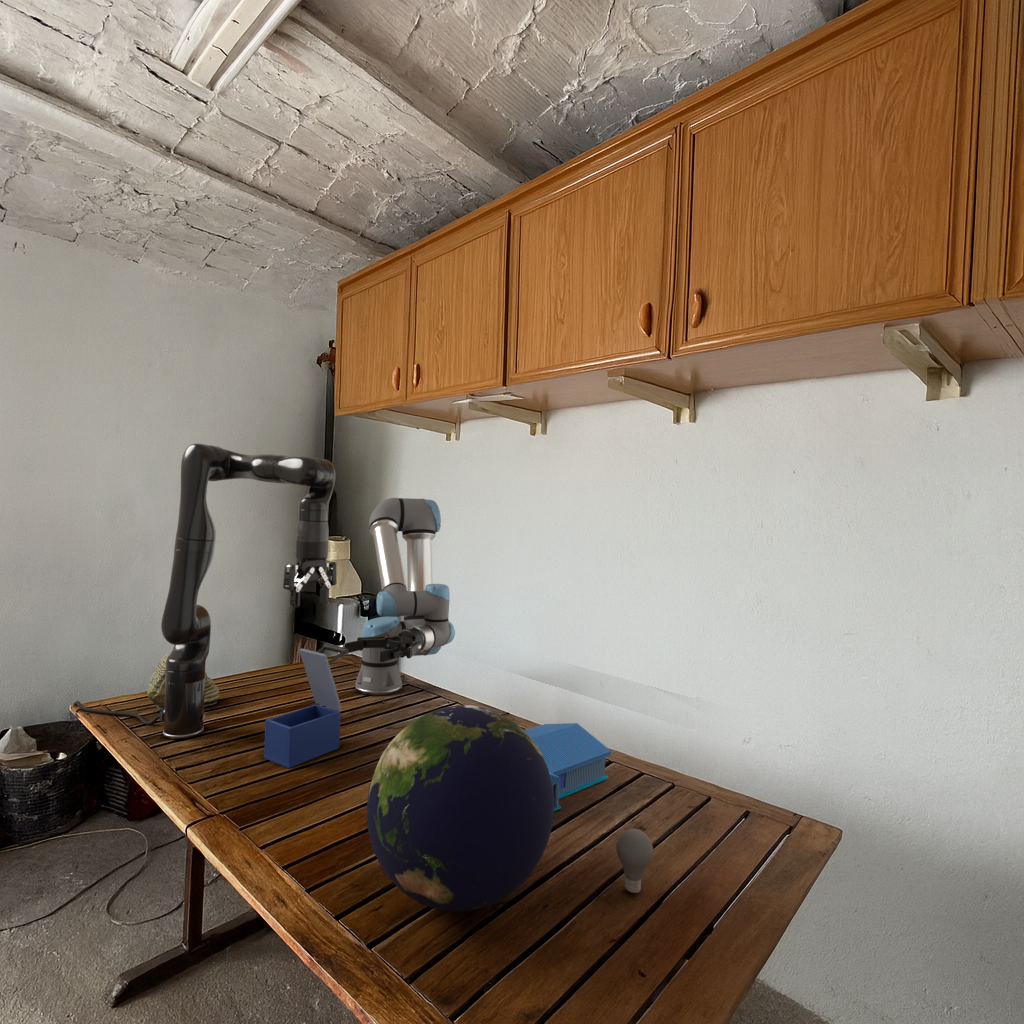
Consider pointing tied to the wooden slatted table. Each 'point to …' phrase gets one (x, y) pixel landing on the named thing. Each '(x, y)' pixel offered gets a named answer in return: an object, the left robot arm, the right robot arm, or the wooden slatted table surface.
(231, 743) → the wooden slatted table surface
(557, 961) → the wooden slatted table surface
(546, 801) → the globe
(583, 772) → the model building
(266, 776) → the wooden slatted table surface
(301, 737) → the chest
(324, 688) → the grey lid
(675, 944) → the wooden slatted table surface
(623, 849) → the light bulb
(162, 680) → the fossil
